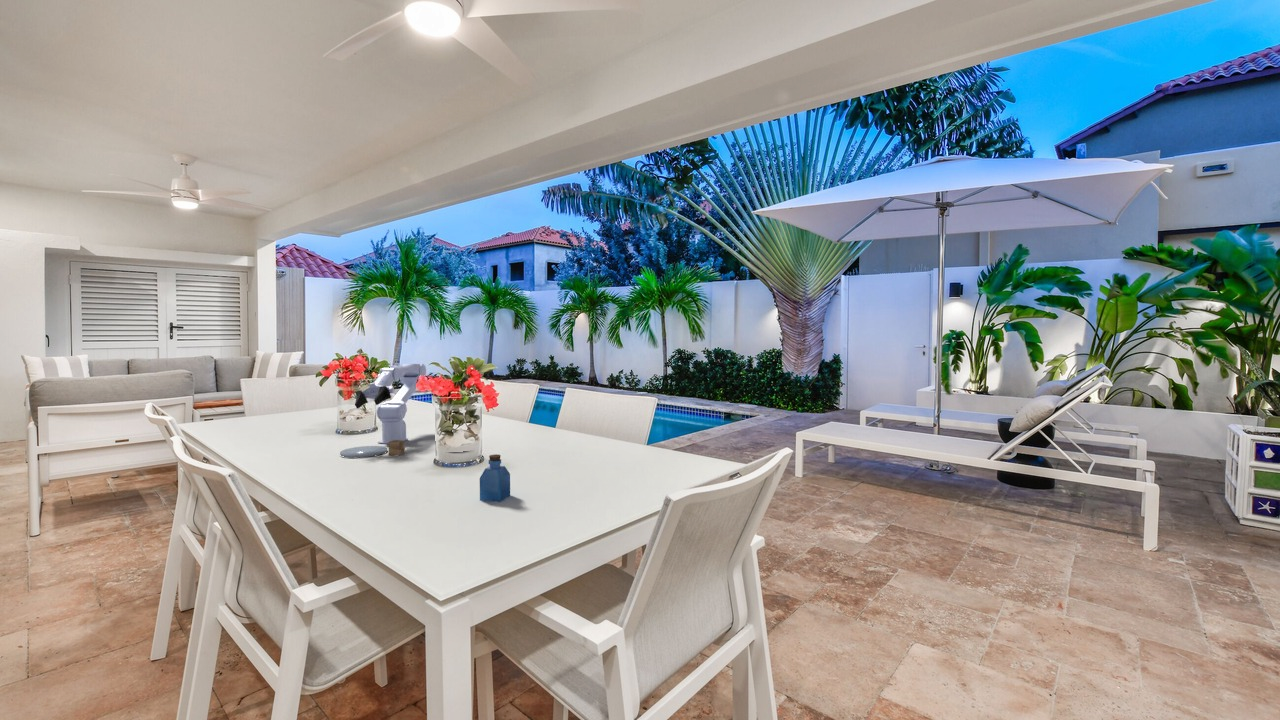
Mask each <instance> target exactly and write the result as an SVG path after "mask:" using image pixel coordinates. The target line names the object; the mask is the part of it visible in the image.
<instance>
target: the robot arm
mask: <svg viewBox="0 0 1280 720" xmlns="http://www.w3.org/2000/svg"><path fill="white" fill-rule="evenodd" d="M389 367H390V368H389ZM389 367H382V368H380V369H379V371H378V374H377V376H376V377H377V378H376V379H375V380H374V381H373V382H370V383H369V385H368V387H367V388H365V389H363V390H357V391H356V392H355V397H356V398H355V402H354V406H355V407H356V408H355V409H360V408H361V407H362V406H364V405H365V404H368V403H369V401H368V399H371V400H373V401H374V403H375V405H376V406H377V409H376V416H377V418H378V420H379V421H380V422H381V431H382V435H381V436H382V437H381V439H382V440H380V441H377V444H384V445H385V444H388V442H390V441H393V440H405V441H407V440H409V438H407V425H406V422H405V420H404V418H405V416H406V413H407V412H408V408H407V405H406V403H407V402H408V401H409V400H410V398H411V397H412V396H413V394H414V393H415V392H416V390H417V389H416V382H417V379H418V377H419V376H420V375H427V368H426V365H425V364H424V363H402V364H400V363H394V365H389ZM399 381H400V383H401V384H403V385H402V386H401V388H400V389H399V390H398V392H397V393H396V394H395V395H394V396H393V398H392V395H391V394H394V392H395V391H396V389H395V388H394V386H393V385H392V384H393V383H394V382H395V383H396V382H399ZM391 398H392V399H391ZM390 399H391V400H390ZM384 401H385V402H384Z"/></svg>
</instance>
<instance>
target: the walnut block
mask: <svg viewBox="0 0 1280 720" xmlns="http://www.w3.org/2000/svg"><path fill="white" fill-rule="evenodd" d="M405 441H406V440H393V441H390V442H388V456H394V455H399V456H401V455H400V454H402V455H404V454H405V453H406V450H405V449H406V448H405V447H406V445H405V443H406V442H405ZM403 453H404V454H403Z"/></svg>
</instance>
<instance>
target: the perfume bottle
mask: <svg viewBox="0 0 1280 720" xmlns="http://www.w3.org/2000/svg"><path fill="white" fill-rule="evenodd" d="M488 457H489V459H488V465H489V466H488V467H485V469H484V470H483V472H482V474H481V475H480V476H479V477H480V478H479V501H481V500H483V501H484V502H495V501H497V502H499V503H501V502H503V501H504V500H505V498H506V499H507V498H509V497H510V496H511V473H510V472H509V470H508V469H507V467H506V466H505V465H501V464H502V459H501V454H496V453H495V454H490V455H489V456H488ZM497 502H496V503H497Z"/></svg>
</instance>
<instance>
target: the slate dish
mask: <svg viewBox="0 0 1280 720" xmlns="http://www.w3.org/2000/svg"><path fill="white" fill-rule="evenodd" d="M385 452H386V453H388V447H386V446H383V445H382V446H381V445H363V446H356V447H355V446H354V447H350V448H346V449H343V450H341V451H340V452H339V456H340V455H341V456H344V457H366V458H369V457H368V456H373V457H376V456H375V455H378V456H381V455H380V454H382V455H384V454H383V453H385ZM386 453H385V454H386ZM341 456H340V457H341ZM344 457H343V458H344Z"/></svg>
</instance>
